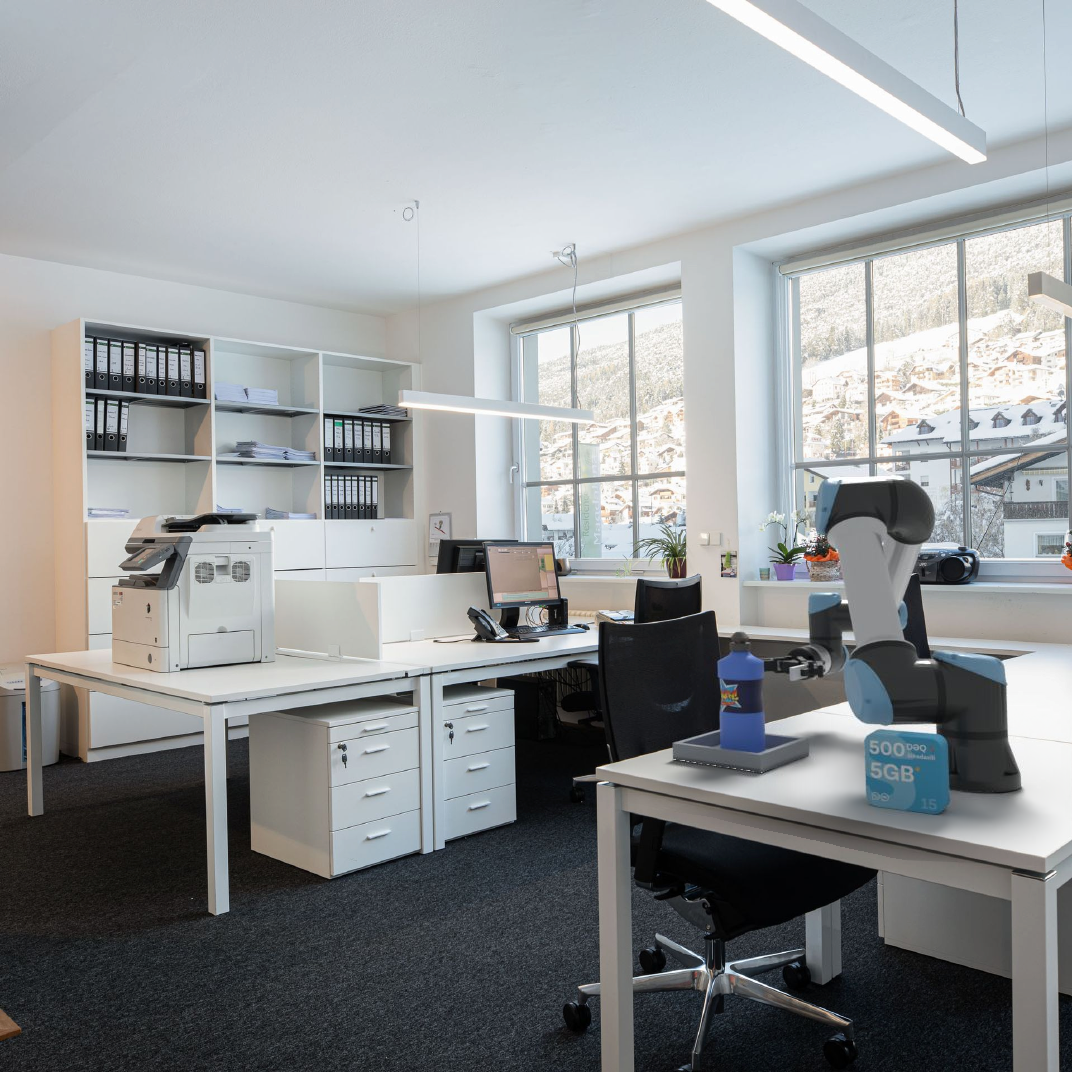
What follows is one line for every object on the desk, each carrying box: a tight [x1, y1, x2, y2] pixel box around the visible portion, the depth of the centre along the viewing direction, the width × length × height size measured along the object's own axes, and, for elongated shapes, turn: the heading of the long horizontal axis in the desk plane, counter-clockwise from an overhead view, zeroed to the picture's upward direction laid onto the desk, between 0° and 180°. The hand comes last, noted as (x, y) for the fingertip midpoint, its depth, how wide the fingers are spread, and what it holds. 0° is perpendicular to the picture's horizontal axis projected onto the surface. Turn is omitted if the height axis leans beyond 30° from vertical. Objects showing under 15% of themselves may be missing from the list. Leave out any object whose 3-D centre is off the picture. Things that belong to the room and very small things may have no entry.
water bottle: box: [717, 631, 766, 753], centre depth 191 cm, size 9×9×25 cm
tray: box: [672, 729, 810, 774], centre depth 190 cm, size 20×20×4 cm
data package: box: [863, 728, 951, 815], centre depth 151 cm, size 12×4×12 cm, turn 54°
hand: (761, 672), depth 198 cm, fingers open, 13 cm apart
